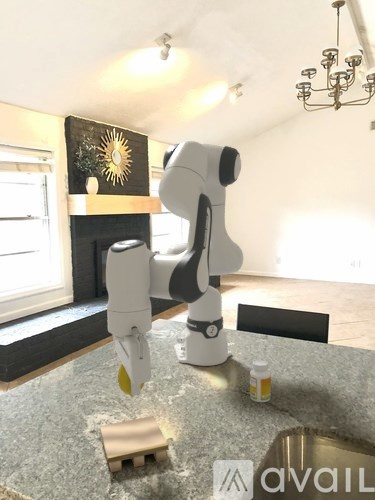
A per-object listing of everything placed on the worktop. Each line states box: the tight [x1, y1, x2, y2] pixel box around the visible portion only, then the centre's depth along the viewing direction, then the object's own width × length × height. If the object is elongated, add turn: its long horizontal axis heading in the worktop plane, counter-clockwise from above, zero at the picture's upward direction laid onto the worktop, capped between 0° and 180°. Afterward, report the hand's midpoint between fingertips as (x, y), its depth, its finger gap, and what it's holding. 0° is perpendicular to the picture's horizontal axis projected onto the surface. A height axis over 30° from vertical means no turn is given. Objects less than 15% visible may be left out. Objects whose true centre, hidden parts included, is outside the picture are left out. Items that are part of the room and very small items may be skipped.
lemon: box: [117, 363, 145, 397], centre depth 81 cm, size 6×6×8 cm
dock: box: [99, 415, 170, 473], centre depth 82 cm, size 12×12×3 cm
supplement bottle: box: [249, 359, 272, 403], centre depth 103 cm, size 5×5×10 cm
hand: (131, 386), depth 81 cm, fingers closed on lemon, 5 cm apart
